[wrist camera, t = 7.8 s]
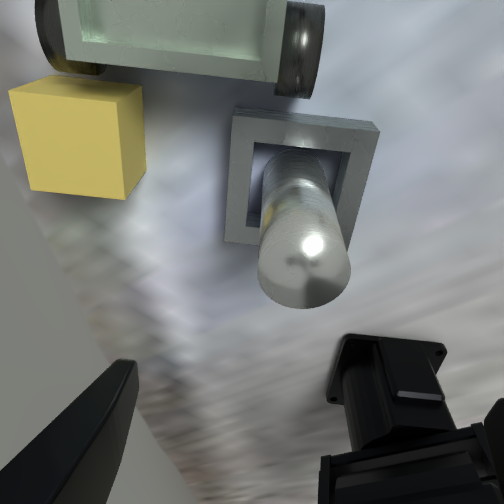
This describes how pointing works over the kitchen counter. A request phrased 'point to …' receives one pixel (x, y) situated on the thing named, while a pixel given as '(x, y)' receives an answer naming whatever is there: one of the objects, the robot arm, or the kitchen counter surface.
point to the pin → (300, 234)
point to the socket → (300, 135)
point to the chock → (81, 135)
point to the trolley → (188, 38)
